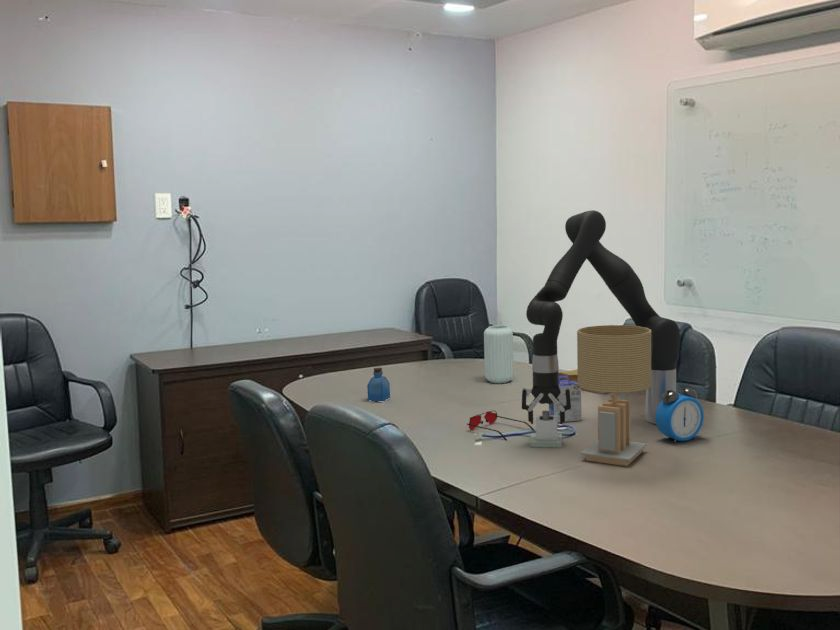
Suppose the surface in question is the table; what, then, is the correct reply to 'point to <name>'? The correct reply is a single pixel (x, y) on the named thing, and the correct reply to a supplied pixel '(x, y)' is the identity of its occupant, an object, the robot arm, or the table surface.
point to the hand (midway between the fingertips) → (546, 423)
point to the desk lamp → (614, 384)
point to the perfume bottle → (378, 386)
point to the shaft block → (545, 443)
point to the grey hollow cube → (546, 428)
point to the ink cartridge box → (575, 399)
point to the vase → (498, 354)
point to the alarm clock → (679, 414)
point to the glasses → (488, 421)
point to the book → (574, 377)
